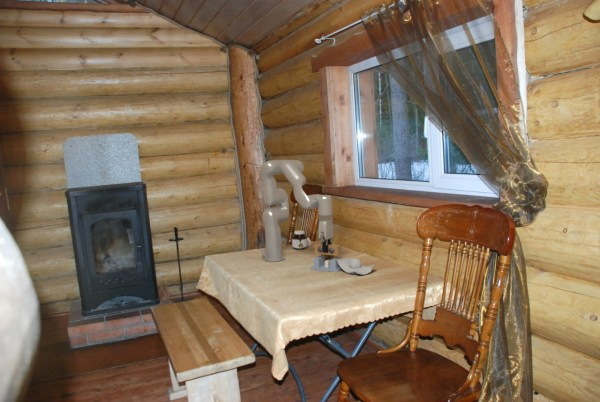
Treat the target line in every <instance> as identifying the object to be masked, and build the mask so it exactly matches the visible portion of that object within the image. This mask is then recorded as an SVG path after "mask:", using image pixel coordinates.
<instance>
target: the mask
mask: <svg viewBox="0 0 600 402" xmlns="http://www.w3.org/2000/svg"><path fill="white" fill-rule="evenodd" d="M337 262H338V264H339V266H340V267H341V268H342V271H344V272H345V273H347V274H350V275H357V274H358V275H361V276H363V275H367V274H369V273H371V272H372V270H373V268H374V267H375V265H376V263H374V264H372V265H364V264H362V262H361V260H360V259H359V258H356V257H355V258H351V257H350V258H349V257H348V258H347V257H346V258H344V257H343V258H341V259H338V260H337Z"/></svg>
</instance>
